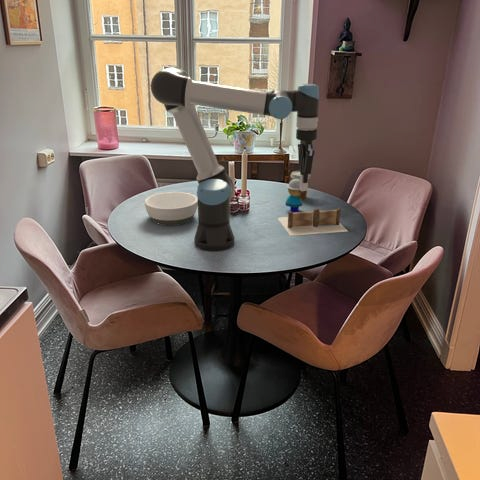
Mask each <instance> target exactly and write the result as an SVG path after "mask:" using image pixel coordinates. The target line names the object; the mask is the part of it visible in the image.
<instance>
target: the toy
mask: <svg viewBox="0 0 480 480" xmlns="http://www.w3.org/2000/svg"><path fill="white" fill-rule="evenodd" d="M285 188H286V189H287V192H288V193H289V195H288V196H287V199H286V200H285V206H286V207H290V209H289V210H290V211H291V212H293V213H296V212H299V208H300V207H302V206H303V202H302V200H304V199H303V198H302V199H300V197H299V196H300V195H301V194H302V193H303V195H304V191H300V180H299V179H293V180H291V179H290V181H289V183H288V184H287V185H286V186H285Z"/></svg>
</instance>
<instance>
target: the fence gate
mask: <svg viewBox="0 0 480 480" xmlns="http://www.w3.org/2000/svg"><path fill="white" fill-rule="evenodd" d="M287 217H288V228H292V227H302V226H312V220H313V210H312V211H311V210H310V211H298V212H296V213H293V212H291V211H288V212H287Z"/></svg>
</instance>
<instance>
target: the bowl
mask: <svg viewBox="0 0 480 480" xmlns="http://www.w3.org/2000/svg"><path fill="white" fill-rule="evenodd" d="M143 202H144V207H145V210H146V213H147V215H148V216H149V218H150V219H151V220H152V221H154V222H153V223H155V222H156V223H155V224H157V223H159V224H158V225H160V224H165V225H164V226H175V225H174V224H180V225H183V224H182V223H184V224H186V223H185V222H187V223H189V222H190V221H192V219H194V216H195V214H196V212H197V210H198V197H197V195H194V194H193V193H188V192H184V191H183V192H181V191H168V192H159V193H155V194H152V195H149V196H148V197H146V198H145V199H144V201H143ZM188 221H189V222H188Z"/></svg>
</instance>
